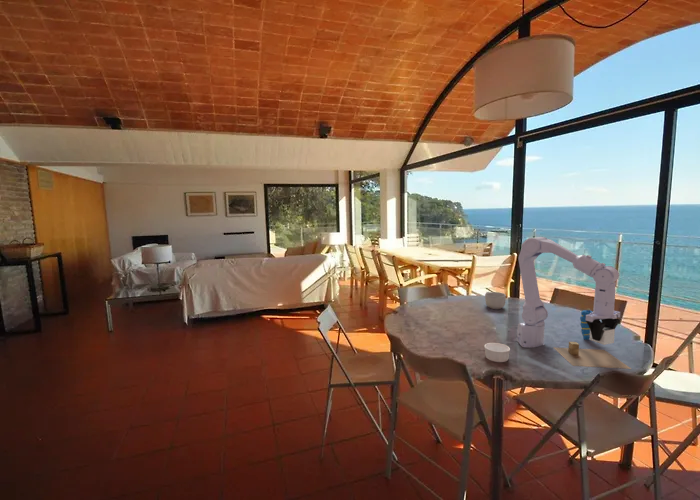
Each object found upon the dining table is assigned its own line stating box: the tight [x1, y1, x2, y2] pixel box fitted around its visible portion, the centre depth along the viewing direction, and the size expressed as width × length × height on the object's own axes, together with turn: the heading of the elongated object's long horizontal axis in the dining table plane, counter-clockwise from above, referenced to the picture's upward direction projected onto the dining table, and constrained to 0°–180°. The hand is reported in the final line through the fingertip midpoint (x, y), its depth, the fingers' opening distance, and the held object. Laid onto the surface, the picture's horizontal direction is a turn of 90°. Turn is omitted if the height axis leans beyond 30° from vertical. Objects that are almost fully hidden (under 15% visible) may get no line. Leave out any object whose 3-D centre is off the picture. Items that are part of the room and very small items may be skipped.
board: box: [553, 341, 632, 370], centre depth 122 cm, size 18×16×6 cm
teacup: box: [484, 291, 507, 310], centre depth 193 cm, size 14×11×8 cm
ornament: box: [579, 308, 594, 341], centre depth 139 cm, size 5×5×15 cm
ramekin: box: [483, 342, 511, 363], centre depth 127 cm, size 9×9×4 cm
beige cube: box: [588, 326, 616, 346], centre depth 119 cm, size 5×5×5 cm
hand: (601, 338), depth 119 cm, fingers closed on beige cube, 5 cm apart
